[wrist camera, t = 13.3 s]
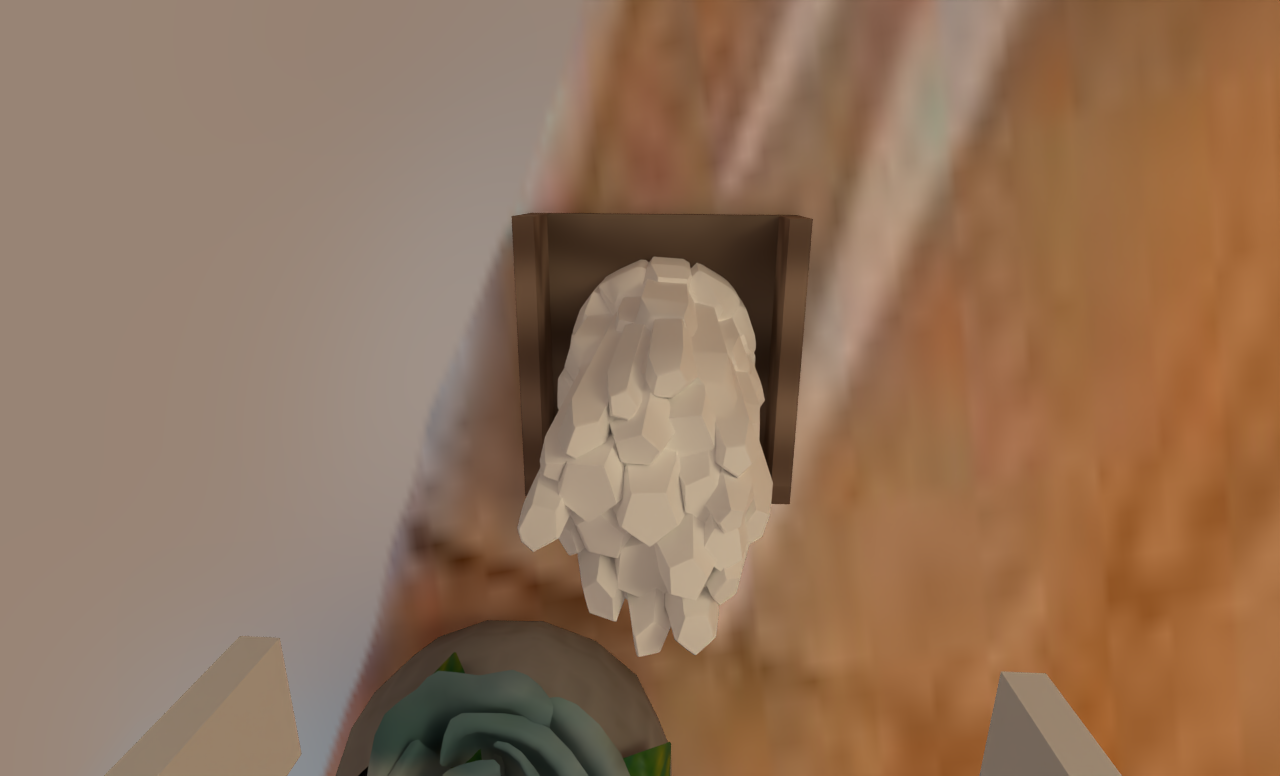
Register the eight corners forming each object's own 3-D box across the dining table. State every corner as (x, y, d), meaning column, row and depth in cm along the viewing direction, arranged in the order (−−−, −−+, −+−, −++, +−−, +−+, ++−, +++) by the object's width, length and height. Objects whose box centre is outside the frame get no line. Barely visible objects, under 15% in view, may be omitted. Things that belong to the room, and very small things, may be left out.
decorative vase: (574, 259, 41) (427, 363, 17) (748, 252, 40) (853, 348, 16) (586, 424, 44) (478, 709, 20) (748, 420, 43) (836, 709, 19)
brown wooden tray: (531, 212, 41) (511, 216, 36) (796, 215, 40) (812, 218, 35) (541, 463, 46) (525, 496, 41) (777, 470, 45) (789, 504, 40)
